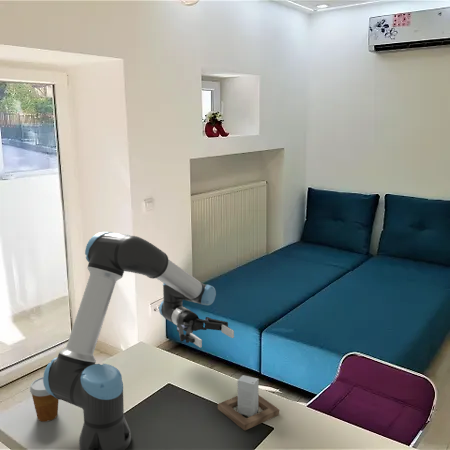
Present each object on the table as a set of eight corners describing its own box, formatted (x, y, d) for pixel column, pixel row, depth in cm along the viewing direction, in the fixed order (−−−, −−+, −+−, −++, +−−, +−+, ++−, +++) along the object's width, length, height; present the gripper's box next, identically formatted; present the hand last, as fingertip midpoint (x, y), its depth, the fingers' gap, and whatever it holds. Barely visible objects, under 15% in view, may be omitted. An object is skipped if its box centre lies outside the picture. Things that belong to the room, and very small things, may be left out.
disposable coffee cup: (30, 427, 156) (27, 392, 154) (33, 410, 165) (30, 377, 163) (62, 422, 159) (59, 388, 156) (63, 405, 168) (61, 373, 165)
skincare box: (258, 410, 165) (259, 378, 163) (253, 417, 162) (254, 384, 159) (242, 406, 168) (242, 374, 165) (236, 412, 164) (237, 380, 162)
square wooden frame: (244, 430, 155) (244, 425, 154) (217, 409, 166) (217, 403, 166) (279, 414, 163) (279, 409, 163) (251, 395, 175) (251, 390, 174)
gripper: (212, 321, 196) (245, 340, 179) (156, 336, 181) (186, 358, 164) (212, 303, 194) (245, 321, 177) (156, 316, 180) (186, 337, 163)
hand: (217, 338), depth 171 cm, fingers open, 13 cm apart
